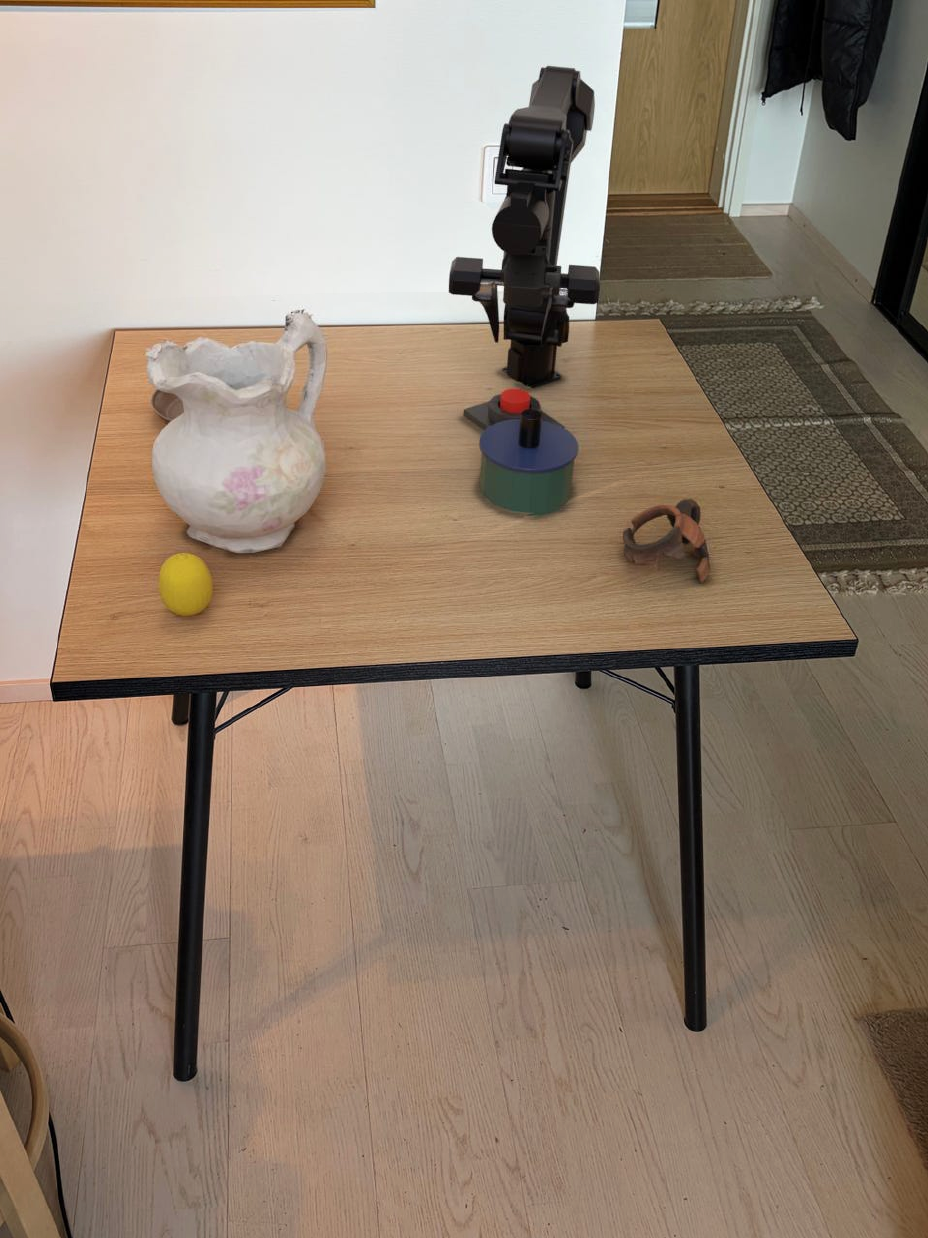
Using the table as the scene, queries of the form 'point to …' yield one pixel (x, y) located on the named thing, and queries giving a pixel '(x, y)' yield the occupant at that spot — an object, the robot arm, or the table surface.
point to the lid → (528, 444)
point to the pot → (526, 488)
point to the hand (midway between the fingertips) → (519, 343)
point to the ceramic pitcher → (240, 436)
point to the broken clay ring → (669, 536)
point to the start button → (514, 400)
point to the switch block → (500, 413)
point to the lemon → (185, 584)
